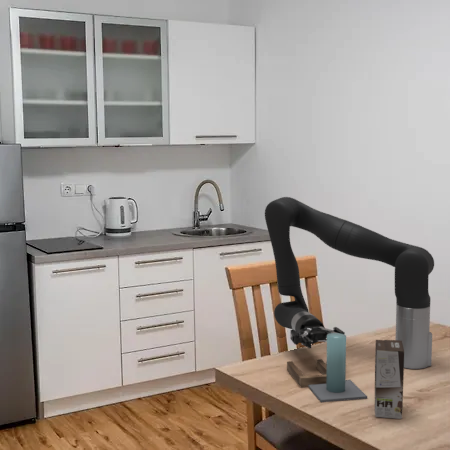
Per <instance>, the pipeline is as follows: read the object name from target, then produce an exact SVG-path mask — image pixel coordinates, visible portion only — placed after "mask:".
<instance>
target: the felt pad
mask: <svg viewBox="0 0 450 450" xmlns="http://www.w3.org/2000/svg"><path fill="white" fill-rule="evenodd" d="M307 388H309V390H310V391H311V392H312V394H314V396H315V397H316V399H318V401H319V402H320V403H326V402H327V403H328V402H329V403H330V402H341V401H343V402H344V401H354V400H355V401H356V400H366V399H368V395H367V394H366V393H365V392H364V391H362V390H361V388H359V387H358V386H357V385H356V384H355V382H353V380H351V379H346V380H345V391H344V392H340V393H334V392H329V391H327V390H326V384H312V385H308V387H307Z"/></svg>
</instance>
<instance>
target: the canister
mask: <svg viewBox="0 0 450 450" xmlns="http://www.w3.org/2000/svg"><path fill="white" fill-rule="evenodd" d="M326 339H327V342H326V364H327V370H326V390H327V391H329V392H334V393H340V392H344V391H345V380H347V379H346V371H347V369H346V368H347V367H346V366H347V365H346V364H347V362H346V361H347V335H346V334H340V333H331V334H328V335H327V338H326Z"/></svg>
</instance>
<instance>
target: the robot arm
mask: <svg viewBox="0 0 450 450" xmlns="http://www.w3.org/2000/svg"><path fill="white" fill-rule="evenodd" d="M264 219H265V224H266V228H267V231H268V234H269V239H270V243H271V248H272V252H273V256H274V257H273V258H274V263H275V272H276V282H277V284H276V285H277V291H278V293H279V295H280V296H284V297H293V298H294V300H292V301H283V302H280V303H278V304H276V305H275V307H274V310H273V314H274V319H275V320H276V323H277V324H278V325H280V326H281V327H284V328H285V329H290V332H289V333H290V335H289V336H290V337H289V338H290V341H291V342H292V343H293V345H299V344H301V345H302V346H304V347H307V349H312V345H313V344H316V343H319V342H325V343H327V335H328V334H331V333H340V334H344V335H346V333H345V331H343V330H342V329H340V328H339V327H337V326H334V327H333V328H332V329H329V328H326V327H325V325H324V323H323V322H322V321H321V320H320V319H319V318H317V317H316V316H315V315H314V314H312V313H310V311H309V308H308V305H307V302H306V301H305V300H306V299H305V298H304V294H303V292H302V291H303V290H302V287H301V278H300V277H301V276H300V269H299V263H298V261H297V258H296V256H295V253H294V251H293V248H292V245H291V238H290V237H291V236H290V234H291V233H290V232H291V231H290V230H291V229H290V228H291V227H293V228H297V229H300V230H304V231H306V232H309V233H310V234H312V235H314V236H316V238H318V239H320V241H321V242H323V243H324V244H325V245H326V246H328V247H329V248H331V249H334V250H335V251H338V252H340V253H343V254H345V255H347V256H351V257H355V258H359V259H365V260H371V261H376V262H381V263H384V264H387V265H389V266H390V267H394V296H395V300H396V306H395V311H396V312H395V314H396V315H395V338H394V340H400V341H402V343H403V347H404V351H405V352H404V369H411V370H419V369H420V370H422V369H425V368H428V367H431V366H432V357H433V353H432V351H433V332H431V331H430V328H431V327H430V324H431V323H430V322H431V296H430V294H429V275H430V274H431V273H432V272H433V270H434V268H435V259H434V257H433V254H431V253H430V252H429V251H428V250H427V249H425V248H423V247H421V246H419V245H413V244H409V243H406V242H403V241H398V240H395V239H392V238H390V237H386V236H384V235H383V234H380V233H378V232H376V231H374V230H371V229H369V228H367V227H364V226H362V225H360V224H357V223H354V222H351V221H349V220H346V219H343V218H340V217H338V216H335V215H332V214H329V213H326V212H322V211H320V210H317V209H316V208H314V207H311V206H310V205H307V204H306V203H304V202H301V201H300V200H297V199H296V198H293V197H291V196H290V197H289V196H283V197H282V196H281V197H280V198H277V199H274V200H272V201H270V202H269V203H267V205H266V206H265V209H264Z"/></svg>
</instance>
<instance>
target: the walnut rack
mask: <svg viewBox="0 0 450 450" xmlns="http://www.w3.org/2000/svg"><path fill="white" fill-rule="evenodd" d="M315 368H316V370H317V371H318V372H319V373H320V374H313V375H304V373H303V372H302V371H301V370H300V369H299V368H298V366H297V365H296V364H295V362H293V360H291V361H286V371H287V372H288V373H289V374H290V376H291V378H292V379H293V380H294V381H295V382H296V384H297V385H298V386H299V387H300V388H309V387H308V385H312V384H326V370H327V362H325V361H324V360H323V359H321V358H320V359H319V358H318V359H316V365H315Z"/></svg>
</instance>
